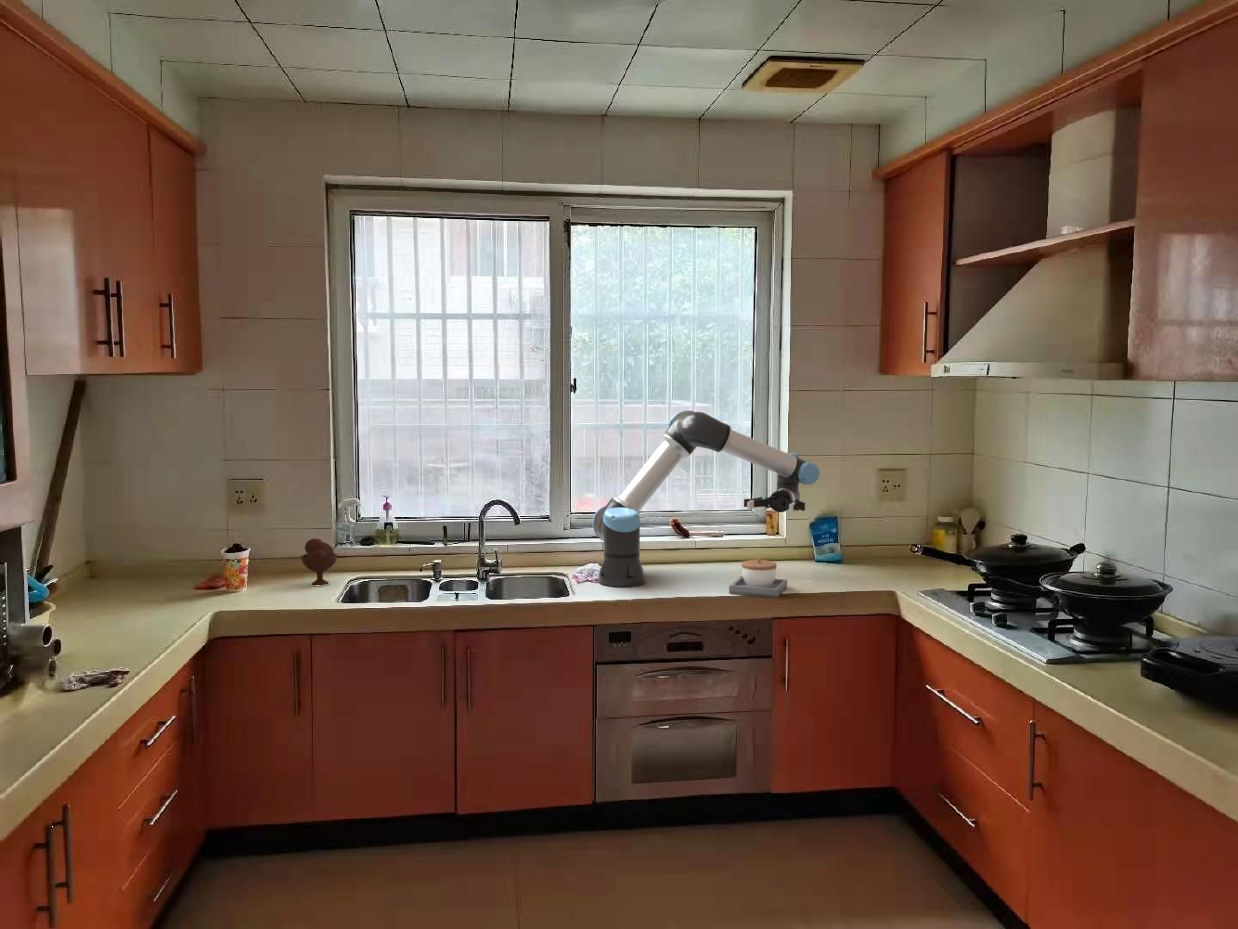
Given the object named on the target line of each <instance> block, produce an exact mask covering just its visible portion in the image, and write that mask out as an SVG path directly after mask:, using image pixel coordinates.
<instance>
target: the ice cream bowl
mask: <svg viewBox="0 0 1238 929" xmlns="http://www.w3.org/2000/svg"><path fill="white" fill-rule="evenodd" d="M304 551H305V552H306V553H304V554H303V555H301V556H300V559H301V563H302V564H303V565H304V567H306V568H307V569H309V570H310V571H312V572H313V573H315V574H316V579H315V580H314V581H312V582H311V584H312V585H324V584H328V583H329V584H330V582H329V581H327V580H326V579H323V578H324V576H323V575H324V572H326V571H328V570H329V569H330V568H332V567H333V566H334V565H335V563H336V562H337V559H338V553H335V552H334V548H333V547H332V545H330V544H329V543H326V542H325V541H322V539H320V538H311V539H309V540H307V541H306V543H305V545H304ZM311 584H310V585H311ZM329 584H328V585H329ZM312 585H311V586H312Z"/></svg>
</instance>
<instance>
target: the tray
mask: <svg viewBox="0 0 1238 929" xmlns="http://www.w3.org/2000/svg"><path fill="white" fill-rule="evenodd" d="M787 588H788V578H787V579H786V578H785V579H783V578H775V580H774V582H773V584H772V585H771V586H770V587H769V588H762V587H749V586H748V585H747V584H746V583H745V581H744V579H743V576H742V575H739V577H738V578H737V579H735V580H734V581H733V582H732V583H730V584H729V587H728V593H730V594H729V595H741V596H754V597H763V598H765V597H766V598H774V599H775V598H777V599H778V598H779V597H781V595H782V594H783V593H784V592H783V591H786V590H787ZM782 592H783V593H782Z"/></svg>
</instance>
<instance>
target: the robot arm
mask: <svg viewBox="0 0 1238 929" xmlns="http://www.w3.org/2000/svg"><path fill="white" fill-rule="evenodd" d="M696 448H703V449H707V450H712V451H713V452H716V453H720V452H724V453H725V454H726V453H727V454H729V455H730V456H731V455H732V456H734V457H737V458H739V459H741V460H743V461H747V462H749V463H751V464H754V465H756V466H758V467H760V468H763V469H765V470H768V471H771V472H772V473H775V474H777V475H776V476H777V477H776V491H773V492H772V493H771V495H770V496H769V497H763V496H759V497H754V498H744V499H743V507H744V508H746V510H747V511H751V510H753V509H754V508H762V507H764V508H765V509H766V508H767V509H772V510H773V511H774V512H776V513H784V512H787V511H788V513H789V514H793V513H794V512H795V511H803V512H804V511H806V502H805V501H801V500H800V498H801V493H800V491H799V489H800V488H799V485H800V484H803V485H804V486H806V485H807V486H808V485H809V486H810V485H813V484H815V483H816V482H817V481H819V478H820V476H821V472H820V468H819V466H818V465H817V464H815V463H813V462H811V461H807V460H803V459H802V458H800V455H799V453H795V452H785V451H783V450H781V449H778V448H775V447H773V446H771V445H768V444H766V443H765V442H764V443H763V442H761V441H759V440H757V439H754V438H751V437H749V436H748V435H745V434H742V433H740V432H737V431H736V430H732V426H731V425H729V424H727V423H725V422H722V421H721V420H719V419H716V418H715V417H713V416H711V415H709V414H707V413H705V412H702V411H694V410H683V411H680V412H678V413H676V414H675V415H673V416H672V417H671V419H670V420H669V422H668V428H667V429H666V430H665V431H664V433H663V434H662V442H661V444H660V445H659V446H658V447H657V448H656V450H655V451H654V452H653V453H652V454H651V456H650V457H649V459H648V460H647V461H646V462H645V463H644V464H643V466H642V467H641V468H640V470H639V471H638V472H637V473H636V474H635V476H634V477H633V478H632V479H631V481H629V483H628V484H627V486H626V487H625V488H624V489H623V491H622V492H621V493H620V495H618V496H613V497H611V498H610V500H609V501H608V502H607V504H606V505H605V506H602V507H600V508H599V509H597V511H596V512H595V513H594V515H593V518H592V523H591V524H592V529H593V532H594V533H595V535H596V537H597V538H598V539H600V540H601V541H603V560H602V563H601V566H600V569H599V572H598V576H597V577H598V581H597V582H598V583H599V584H600V585H604V586H608V587H609V586H610V587H622V588H623V587H626V588H627V587H636V586H640V585H644V584H645V582H646V574H645V571H644V568H643V565H642V562H641V557H640V552H641V551H640V550H641V549H640V548H641V547H640V546H641V540H640V538H641V537H640V536H641V535H640V534H641V519H640V511H641V510H642V509H643V507H644V506H645V505H646V504H647V503H648V501H649V500H650V499H651V498H652V497H653V495H654V494H655V492H656V491H657V490H658V489H659V487H660V486H661V485H662V484H663V482H664V481H665V480H666V479H667V478H668V476H669V475H670V474H671V473H672V471H673V470H674V468H676V466H677V465H678V464H679V463H680V461H681V460H682V459H683V458H686V457H690V456H691V455H692V454H693V452H694V451H695V450H696Z"/></svg>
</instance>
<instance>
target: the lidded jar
mask: <svg viewBox="0 0 1238 929" xmlns="http://www.w3.org/2000/svg"><path fill="white" fill-rule="evenodd" d="M776 575H777V563H776V562H774V561H770V560H764V559H762V558H761V557H757V558H756V559H750V560H749V559H748V560H743V561H742V562H741V576H743V579H744V581H745V583H746V584H747V585H748V586H749V587H762V588H769V587H770V586H771V585H772V584H773V582H774V580H775V579H776Z"/></svg>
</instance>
